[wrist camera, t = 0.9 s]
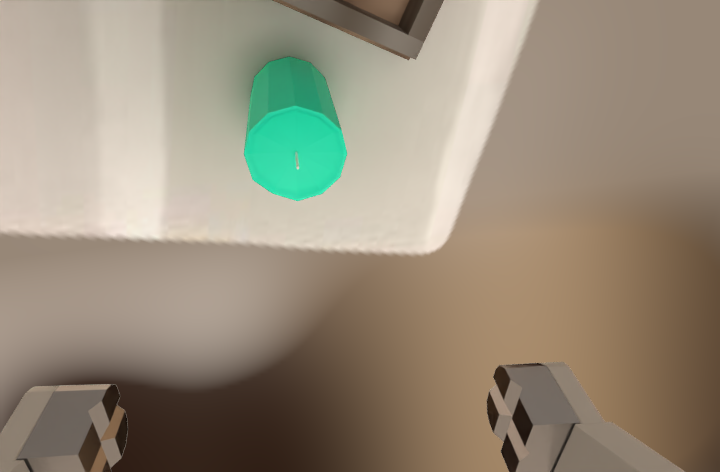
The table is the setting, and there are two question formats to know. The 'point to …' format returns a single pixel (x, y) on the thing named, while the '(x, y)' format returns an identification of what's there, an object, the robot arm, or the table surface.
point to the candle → (293, 131)
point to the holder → (376, 20)
